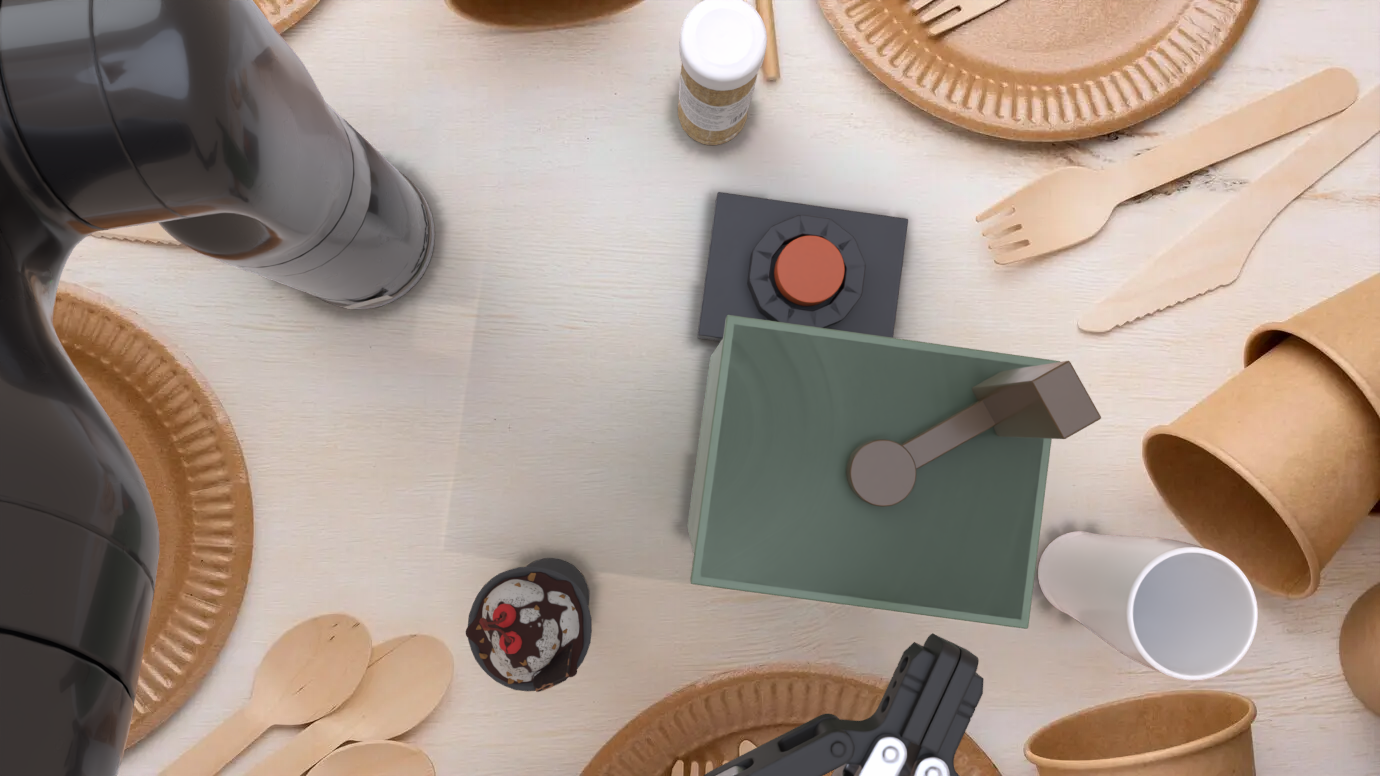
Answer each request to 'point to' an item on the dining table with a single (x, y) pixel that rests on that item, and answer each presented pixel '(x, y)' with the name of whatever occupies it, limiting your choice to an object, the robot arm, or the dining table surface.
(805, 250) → the button
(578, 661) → the sundae
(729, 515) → the block
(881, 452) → the lever
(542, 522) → the dining table surface
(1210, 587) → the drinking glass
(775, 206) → the control box
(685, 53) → the sprinkles bottle
